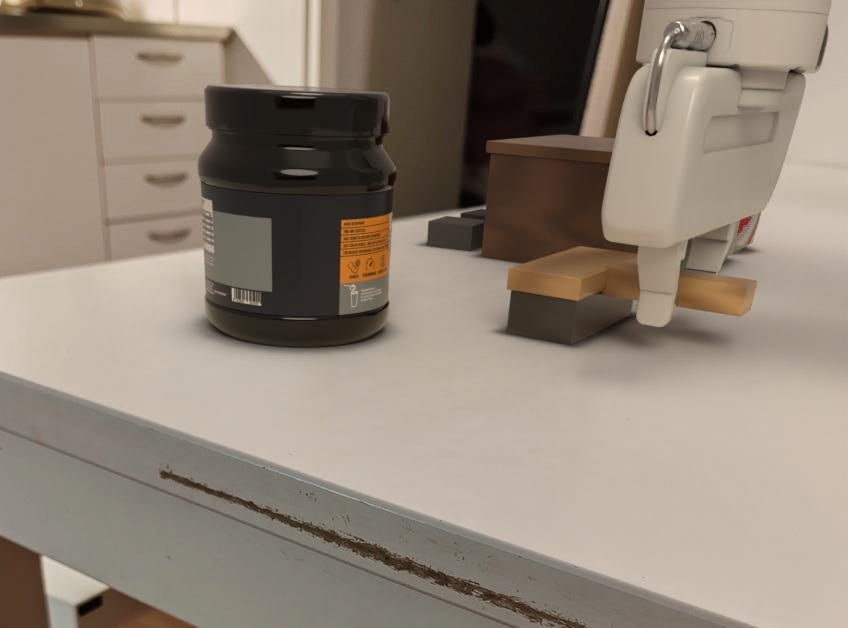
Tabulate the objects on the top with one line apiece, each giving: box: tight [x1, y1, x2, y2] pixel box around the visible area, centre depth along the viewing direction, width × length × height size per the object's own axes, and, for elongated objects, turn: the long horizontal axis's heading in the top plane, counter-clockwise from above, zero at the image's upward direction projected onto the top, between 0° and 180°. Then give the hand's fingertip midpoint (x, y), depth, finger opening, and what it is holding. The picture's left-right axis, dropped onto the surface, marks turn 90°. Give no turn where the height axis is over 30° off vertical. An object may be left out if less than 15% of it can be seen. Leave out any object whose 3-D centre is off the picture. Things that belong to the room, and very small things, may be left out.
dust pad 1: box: [426, 215, 485, 252], centre depth 82 cm, size 4×4×2 cm
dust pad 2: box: [459, 208, 486, 220], centre depth 87 cm, size 4×4×2 cm
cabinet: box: [480, 134, 740, 270], centre depth 77 cm, size 18×15×8 cm
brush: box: [505, 246, 758, 346], centre depth 56 cm, size 12×10×4 cm
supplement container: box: [196, 83, 398, 348], centre depth 53 cm, size 10×10×12 cm
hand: (675, 312), depth 55 cm, fingers open, 6 cm apart
